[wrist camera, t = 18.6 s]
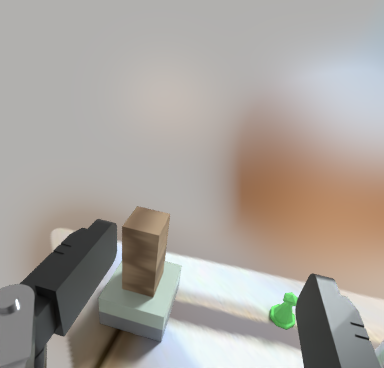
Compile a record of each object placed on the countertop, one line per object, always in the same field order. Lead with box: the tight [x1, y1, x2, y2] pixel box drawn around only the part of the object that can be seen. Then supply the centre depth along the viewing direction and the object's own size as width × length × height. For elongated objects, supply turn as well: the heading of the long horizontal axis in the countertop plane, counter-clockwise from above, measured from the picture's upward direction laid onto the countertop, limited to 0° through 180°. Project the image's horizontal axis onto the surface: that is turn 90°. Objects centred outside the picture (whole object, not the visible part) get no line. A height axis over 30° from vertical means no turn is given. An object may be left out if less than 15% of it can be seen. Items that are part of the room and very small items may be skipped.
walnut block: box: [122, 206, 170, 297], centre depth 38 cm, size 5×5×12 cm
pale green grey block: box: [98, 261, 182, 342], centre depth 42 cm, size 10×10×6 cm
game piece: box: [270, 292, 298, 330], centre depth 43 cm, size 4×4×6 cm
